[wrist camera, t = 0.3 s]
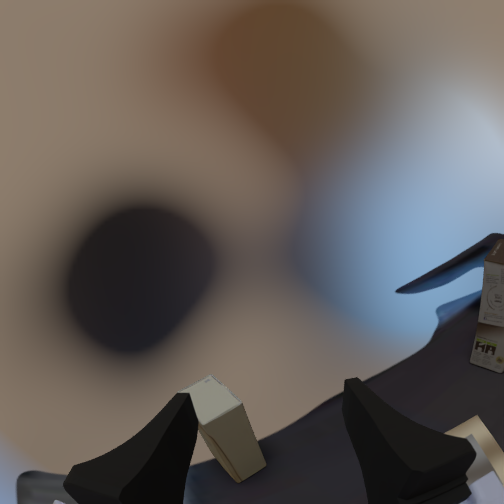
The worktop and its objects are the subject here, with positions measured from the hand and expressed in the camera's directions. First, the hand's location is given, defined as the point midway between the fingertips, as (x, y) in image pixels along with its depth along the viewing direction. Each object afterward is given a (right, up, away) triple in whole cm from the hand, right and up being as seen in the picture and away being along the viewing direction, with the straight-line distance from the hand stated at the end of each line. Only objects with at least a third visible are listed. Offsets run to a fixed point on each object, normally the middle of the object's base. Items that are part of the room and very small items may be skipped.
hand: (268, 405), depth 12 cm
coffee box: (+36, -8, +17) cm, 40 cm away
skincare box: (-2, -18, +16) cm, 24 cm away
